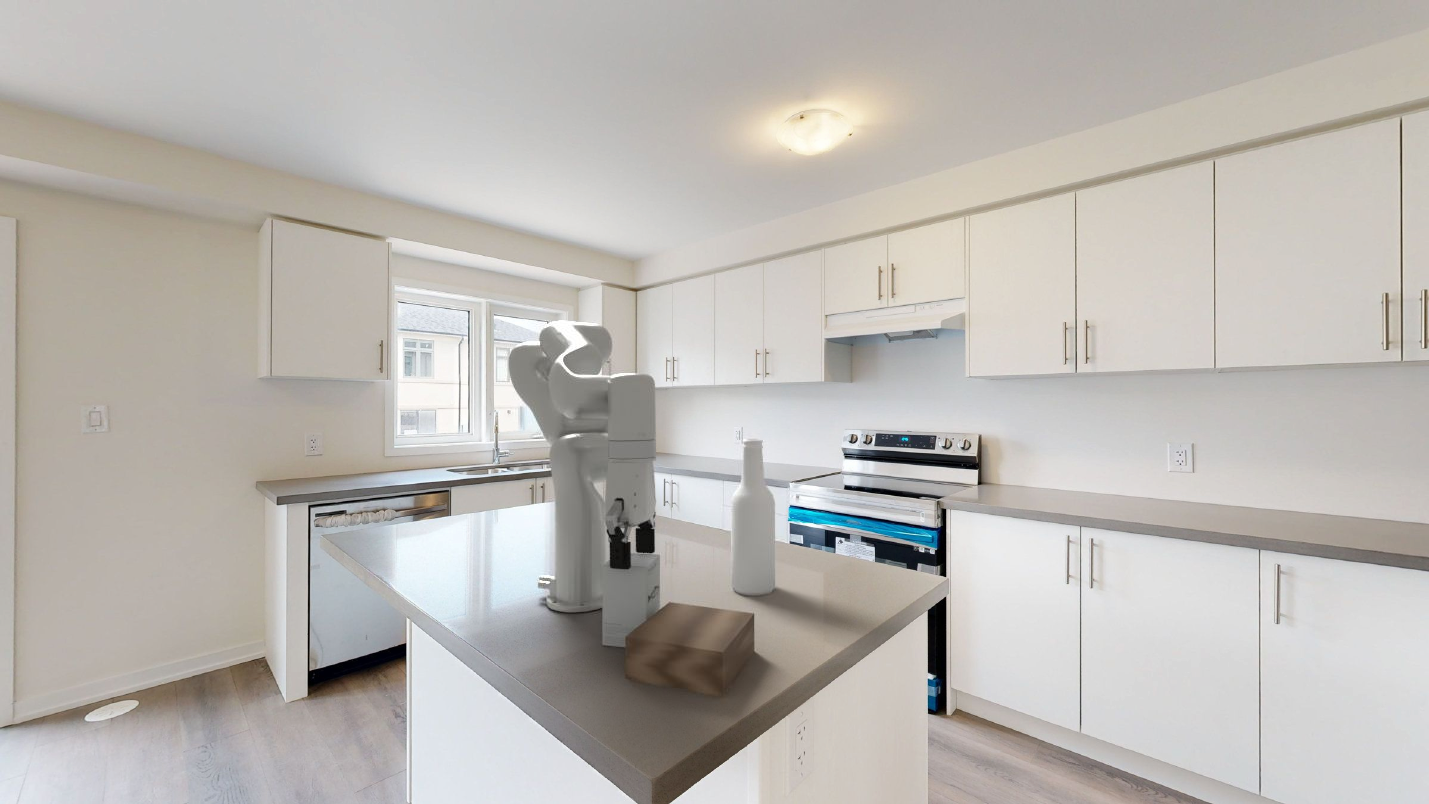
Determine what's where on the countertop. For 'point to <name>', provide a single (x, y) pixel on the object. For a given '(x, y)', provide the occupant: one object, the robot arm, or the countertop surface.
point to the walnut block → (690, 648)
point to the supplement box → (629, 597)
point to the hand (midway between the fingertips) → (633, 560)
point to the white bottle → (753, 527)
